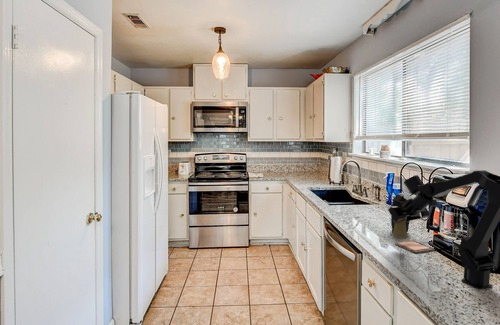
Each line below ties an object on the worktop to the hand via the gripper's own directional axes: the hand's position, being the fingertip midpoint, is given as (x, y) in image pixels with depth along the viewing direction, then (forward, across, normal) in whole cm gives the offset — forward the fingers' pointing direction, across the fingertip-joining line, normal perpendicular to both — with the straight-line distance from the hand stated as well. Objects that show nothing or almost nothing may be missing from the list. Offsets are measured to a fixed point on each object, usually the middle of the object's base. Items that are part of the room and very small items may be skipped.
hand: (398, 221), depth 136 cm
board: (+8, -13, +10) cm, 18 cm away
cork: (+4, 0, +6) cm, 7 cm away
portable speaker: (+22, -20, -4) cm, 30 cm away
